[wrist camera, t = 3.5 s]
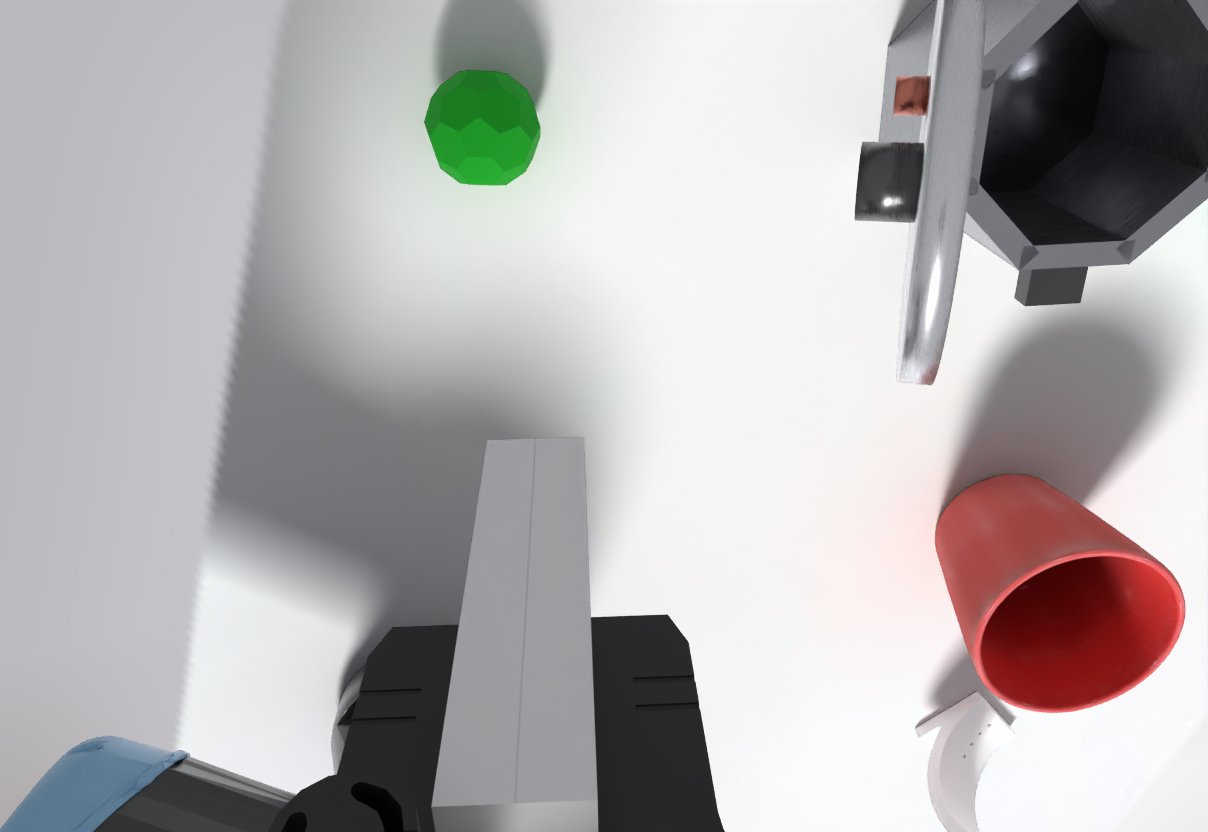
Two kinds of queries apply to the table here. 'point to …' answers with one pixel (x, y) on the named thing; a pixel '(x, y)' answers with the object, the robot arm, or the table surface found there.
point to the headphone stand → (961, 757)
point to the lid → (930, 181)
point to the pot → (1076, 131)
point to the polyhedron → (482, 127)
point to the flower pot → (1053, 596)
